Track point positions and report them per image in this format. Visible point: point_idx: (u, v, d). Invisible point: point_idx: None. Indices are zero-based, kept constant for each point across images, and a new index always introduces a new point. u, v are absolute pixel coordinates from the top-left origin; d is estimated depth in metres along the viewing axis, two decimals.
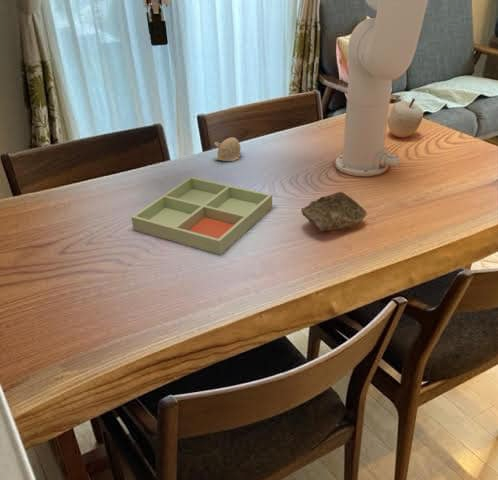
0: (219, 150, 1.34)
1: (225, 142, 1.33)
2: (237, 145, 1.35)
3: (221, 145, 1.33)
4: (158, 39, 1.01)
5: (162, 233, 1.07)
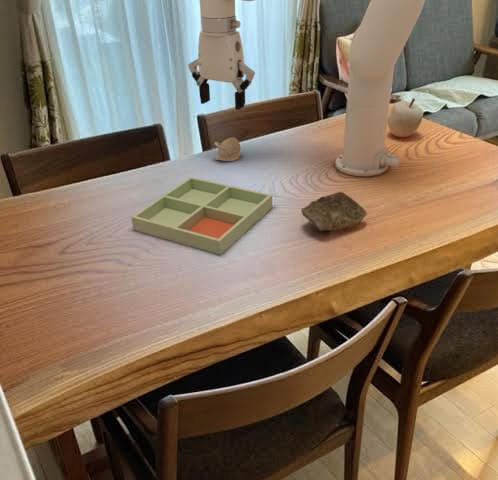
0: (219, 150, 1.34)
1: (225, 142, 1.33)
2: (237, 145, 1.35)
3: (221, 145, 1.33)
4: (243, 104, 1.25)
5: (162, 233, 1.07)
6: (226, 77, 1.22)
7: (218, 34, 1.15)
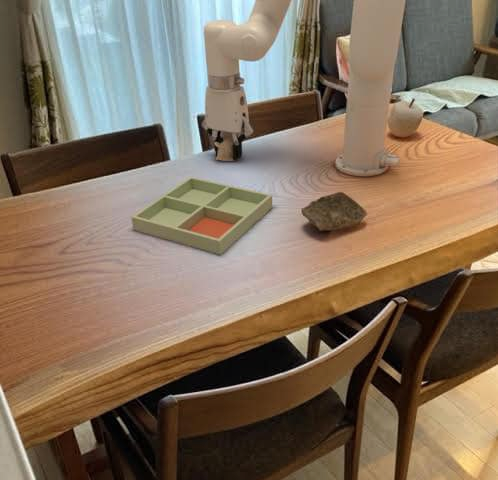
0: (219, 150, 1.34)
1: (225, 142, 1.33)
2: None
3: (221, 145, 1.33)
4: (240, 155, 1.35)
5: (162, 233, 1.07)
6: (231, 128, 1.29)
7: (223, 90, 1.23)
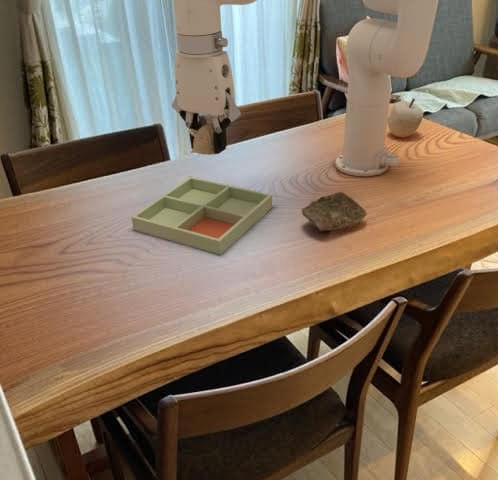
0: (195, 140, 1.00)
1: (203, 129, 0.98)
2: None
3: (198, 133, 0.99)
4: (224, 146, 1.00)
5: (162, 233, 1.07)
6: (211, 110, 0.94)
7: (199, 56, 0.88)
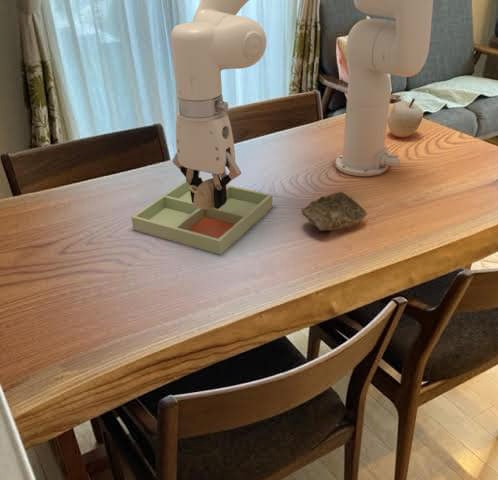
0: (196, 195, 1.01)
1: (204, 185, 1.00)
2: None
3: (198, 189, 1.00)
4: (224, 201, 1.01)
5: (162, 233, 1.07)
6: (212, 168, 0.96)
7: (200, 119, 0.90)
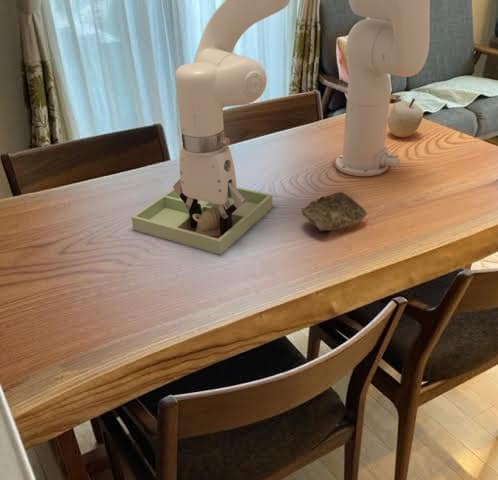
0: (199, 223, 1.05)
1: (207, 214, 1.03)
2: None
3: (201, 217, 1.04)
4: None
5: (162, 233, 1.07)
6: (214, 199, 0.99)
7: (203, 154, 0.93)
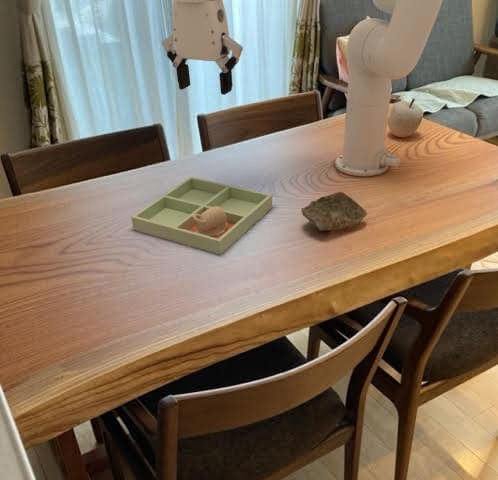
0: (199, 223, 1.05)
1: (207, 214, 1.03)
2: (222, 216, 1.05)
3: (201, 217, 1.04)
4: (230, 87, 1.04)
5: (162, 233, 1.07)
6: (208, 54, 1.00)
7: (195, 0, 0.94)
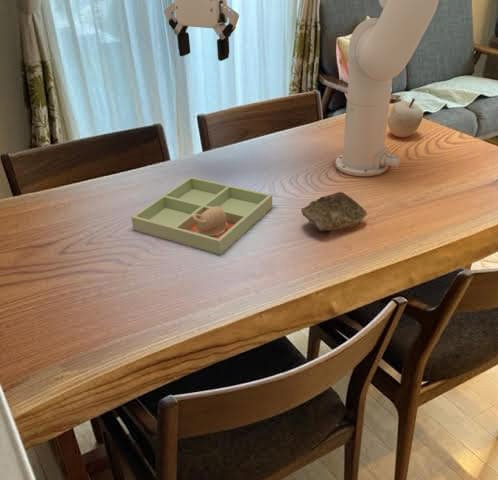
0: (199, 223, 1.05)
1: (207, 214, 1.03)
2: (222, 216, 1.05)
3: (201, 217, 1.04)
4: (227, 53, 1.10)
5: (162, 233, 1.07)
6: (206, 21, 1.06)
7: None
